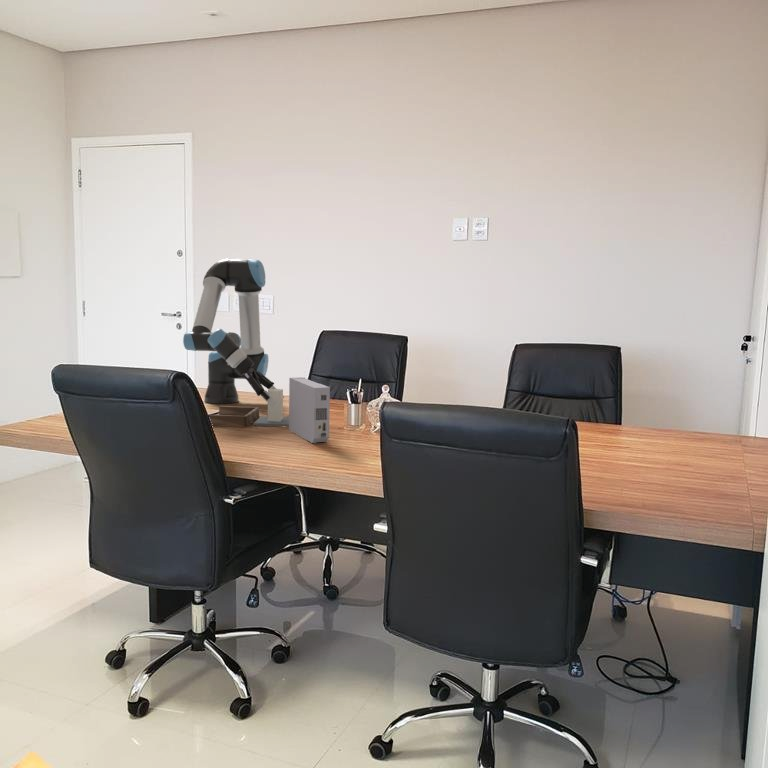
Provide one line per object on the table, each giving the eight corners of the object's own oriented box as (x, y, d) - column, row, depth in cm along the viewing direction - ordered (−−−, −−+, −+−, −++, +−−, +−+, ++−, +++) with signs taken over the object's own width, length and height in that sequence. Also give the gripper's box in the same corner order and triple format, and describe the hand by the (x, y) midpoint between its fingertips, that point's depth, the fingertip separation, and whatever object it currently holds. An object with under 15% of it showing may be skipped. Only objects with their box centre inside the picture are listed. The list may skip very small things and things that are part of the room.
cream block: (270, 418, 306) (270, 388, 304) (282, 419, 306) (282, 389, 304) (267, 421, 301) (267, 390, 299) (280, 421, 301) (280, 391, 299)
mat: (261, 418, 311) (261, 416, 311) (296, 419, 310) (296, 417, 310) (253, 425, 296) (253, 423, 296) (289, 427, 296) (289, 424, 295)
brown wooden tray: (219, 415, 315) (219, 405, 315) (259, 417, 314) (259, 407, 314) (204, 425, 294) (204, 415, 294) (246, 426, 293) (246, 416, 293)
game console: (303, 429, 292) (304, 377, 289) (329, 444, 268) (330, 387, 265) (288, 430, 290) (289, 377, 287) (313, 445, 265) (314, 387, 263)
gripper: (241, 365, 314) (277, 403, 315) (225, 373, 289) (264, 414, 290) (254, 353, 313) (291, 391, 314) (239, 359, 288) (279, 400, 289)
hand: (278, 402), depth 302 cm, fingers open, 13 cm apart
